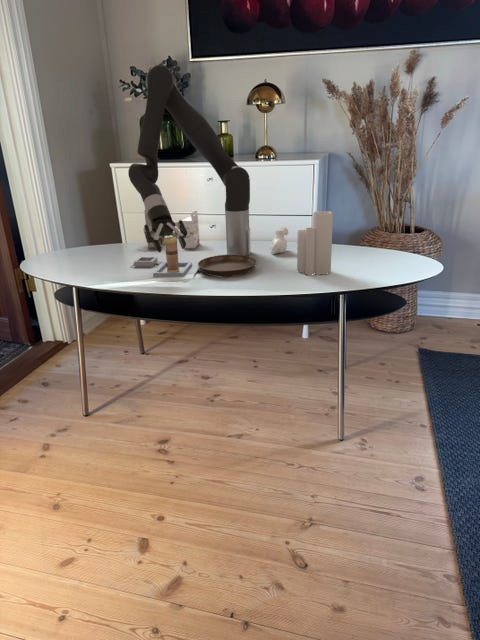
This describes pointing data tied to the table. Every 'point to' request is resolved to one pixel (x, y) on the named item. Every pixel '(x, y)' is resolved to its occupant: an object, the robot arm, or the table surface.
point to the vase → (316, 245)
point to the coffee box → (153, 233)
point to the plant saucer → (227, 265)
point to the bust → (279, 241)
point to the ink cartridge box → (192, 230)
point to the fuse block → (146, 262)
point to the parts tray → (172, 274)
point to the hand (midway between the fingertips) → (172, 249)
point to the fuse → (171, 254)
